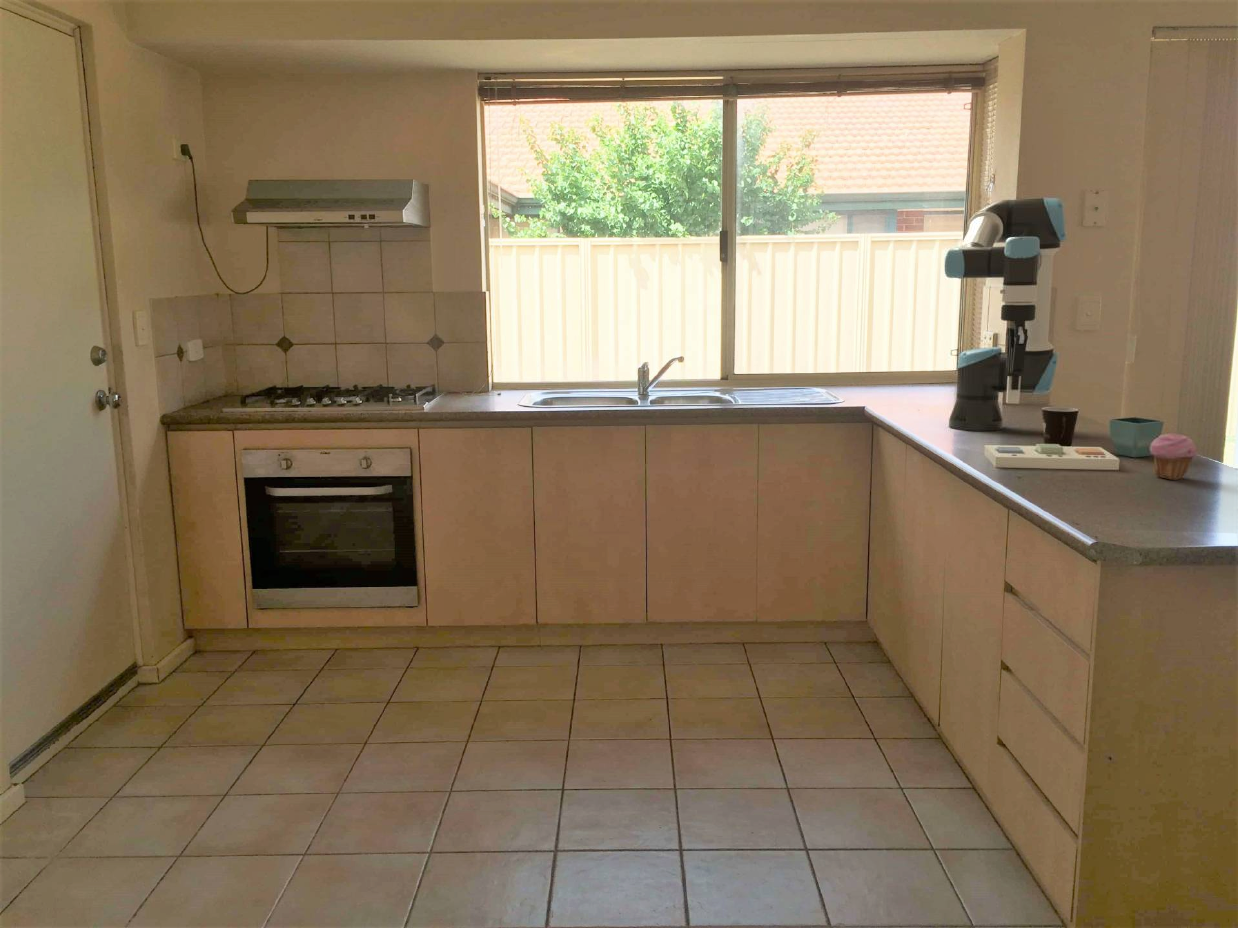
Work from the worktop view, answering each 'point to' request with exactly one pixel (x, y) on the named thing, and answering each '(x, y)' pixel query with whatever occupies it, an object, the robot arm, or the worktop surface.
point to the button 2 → (1049, 449)
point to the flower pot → (1134, 435)
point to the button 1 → (1009, 450)
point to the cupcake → (1172, 455)
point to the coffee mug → (1059, 425)
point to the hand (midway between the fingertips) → (1012, 402)
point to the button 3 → (1089, 451)
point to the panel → (1051, 459)
